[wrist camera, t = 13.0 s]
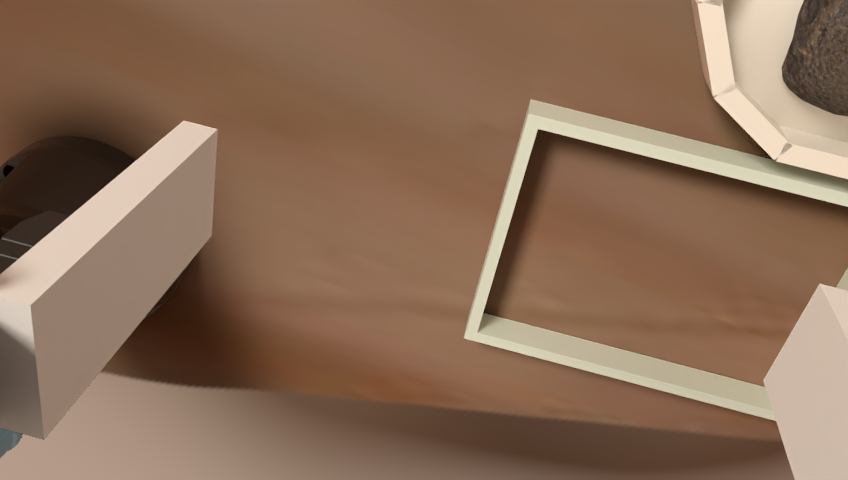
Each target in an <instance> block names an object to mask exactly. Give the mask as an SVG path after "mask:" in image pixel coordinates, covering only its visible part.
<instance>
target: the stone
mask: <svg viewBox="0 0 848 480" xmlns="http://www.w3.org/2000/svg"><path fill="white" fill-rule="evenodd" d="M782 77H783V81H784V83H785V84H786V86H787V87H788V89H789V90H790V91H792V92H793V93H794V94H795V95H796V96H798V97H799V98H800V99H801V100H803V101H805V102H807V103H809V104H811V105H813V106H816V107H818V108H820V109H822V110H825V111H827V112H830V113H832V114H835V115H841V116H848V0H804V1H803V4H802V6H801V8H800V11H799V13H798V17H797V21H796V26H795V30H794V35H793V39H792V41H791V44H790V46H789V49H788V52H787V55H786V57H785V60H784V62H783V65H782Z"/></svg>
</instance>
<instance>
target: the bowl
mask: <svg viewBox="0 0 848 480" xmlns="http://www.w3.org/2000/svg"><path fill="white" fill-rule="evenodd" d="M803 1H804V0H691V4H692V10H693V16H694V21H695V27H696V33H697V39H698V45H699V51H700V57H701V63H702V69H703V75H704V78H705V80H706V82H707V84H708V87H709V89H710V91H711V93H712V95H713V97H714V99H715V100H716V101H717V102H718V103H719V104H720V105H721V106H722V107H723V108H724V109H725V110H726V111H727V112H728V113H729V114H730V115H731V116H732V117H733V119H734V120H735V121H736V122H737V123H738V124H739V125H740V126H741V127H742V128H743V129H744V130H745V131H746V132H747V133H748V134H749V135H750V136H751V137H752V138H753V139H754V140H755V141H756V142H757V143H758V144H759V145H760V146H761V147H762V148H763V149H764V150H765V151H766V152H767V153H768V154H769V155H770V156H771V158H772V159H773V160H776V161H777V162H781V163H785V164H789V165H793V166H797V167H801V168H805V169H809V170H813V171H817V172H821V173H825V174H829V175H833V176H837V177H841V178H845V179H848V116H841V115H835V114H832V113H830V112H827V111H825V110H822V109H820V108H818V107H816V106H813V105H811V104H809V103H807V102H805V101H803V100H801V99H800V98H799V97H798V96H796V95H795V94H794V93H793V92H792V91H790V90H789V89H788V87H787V86H786V84H785V83H784V81H783V77H782V65H783V62H784V60H785V57H786V55H787V52H788V49H789V46H790V44H791V41H792V39H793V35H794V30H795V26H796V21H797V17H798V13H799V11H800V8H801V6H802V4H803Z"/></svg>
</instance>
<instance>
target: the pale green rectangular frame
mask: <svg viewBox="0 0 848 480" xmlns="http://www.w3.org/2000/svg"><path fill="white" fill-rule="evenodd" d="M538 129H540V130H544V131H548V132H552V133H556V134H560V135H564V136H568V137H572V138H576V139H580V140H584V141H588V142H592V143H596V144H600V145H604V146H608V147H612V148H616V149H620V150H624V151H628V152H632V153H636V154H640V155H644V156H648V157H651V158H655V159H659V160H663V161H667V162H671V163H675V164H679V165H683V166H687V167H691V168H695V169H699V170H703V171H707V172H711V173H715V174H719V175H723V176H727V177H731V178H735V179H739V180H743V181H747V182H751V183H755V184H759V185H763V186H767V187H771V188H775V189H779V190H783V191H787V192H791V193H795V194H799V195H803V196H807V197H811V198H814V199H818V200H822V201H826V202H830V203H834V204H838V205H842V206H846V207H848V179H845V178H841V177H837V176H833V175H829V174H825V173H821V172H817V171H813V170H809V169H805V168H801V167H797V166H793V165H789V164H785V163H781V162H777V161H776V160H772V159H768V158H764V157H760V156H756V155H752V154H748V153H744V152H740V151H736V150H732V149H728V148H724V147H720V146H716V145H712V144H708V143H704V142H700V141H696V140H692V139H688V138H684V137H680V136H676V135H672V134H668V133H664V132H660V131H656V130H652V129H648V128H644V127H640V126H636V125H632V124H628V123H624V122H620V121H616V120H612V119H608V118H604V117H600V116H596V115H592V114H588V113H584V112H580V111H576V110H572V109H568V108H564V107H560V106H556V105H552V104H548V103H544V102H540V101H536V100H532V99H531V100H530V103H529V107H528V110H527V114H526V117H525V121H524V124H523V128H522V131H521V135H520V138H519V142H518V145H517V149H516V152H515V156H514V159H513V163H512V166H511V170H510V173H509V177H508V180H507V184H506V187H505V191H504V194H503V198H502V201H501V205H500V208H499V212H498V215H497V219H496V222H495V226H494V229H493V233H492V236H491V240H490V243H489V246H488V250H487V253H486V257H485V260H484V264H483V267H482V271H481V274H480V278H479V281H478V285H477V288H476V292H475V295H474V299H473V302H472V306H471V309H470V313H469V316H468V321H467V326H466V331H465V335H464V338H465V339H469V340H472V341H476V342H480V343H484V344H487V345H491V346H495V347H499V348H502V349H506V350H510V351H514V352H518V353H521V354H525V355H529V356H533V357H536V358H540V359H544V360H548V361H551V362H555V363H559V364H563V365H567V366H570V367H574V368H578V369H582V370H585V371H589V372H593V373H597V374H600V375H604V376H608V377H612V378H616V379H619V380H623V381H627V382H631V383H634V384H638V385H642V386H646V387H649V388H653V389H657V390H661V391H665V392H668V393H672V394H676V395H680V396H683V397H687V398H691V399H695V400H698V401H702V402H706V403H710V404H714V405H717V406H721V407H725V408H729V409H732V410H736V411H740V412H744V413H747V414H751V415H755V416H759V417H762V418H766V419H770V420H774V421H776V419H775V416H774V413H773V410H772V407H771V403H770V400H769V397H768V394H767V391H766V388H765V387H763V386H759V385H755V384H752V383H748V382H744V381H740V380H736V379H733V378H729V377H725V376H721V375H717V374H714V373H710V372H706V371H702V370H698V369H695V368H691V367H687V366H683V365H679V364H676V363H672V362H668V361H664V360H660V359H657V358H653V357H649V356H645V355H641V354H638V353H634V352H630V351H626V350H622V349H619V348H615V347H611V346H607V345H604V344H600V343H596V342H592V341H588V340H585V339H581V338H577V337H573V336H569V335H566V334H562V333H558V332H554V331H550V330H547V329H543V328H539V327H535V326H531V325H528V324H524V323H520V322H516V321H512V320H509V319H505V318H501V317H497V316H493V315H490V314H486V313H483V312H484V308H485V305H486V302H487V298H488V295H489V292H490V288H491V285H492V282H493V278H494V275H495V271H496V268H497V265H498V261H499V258H500V255H501V251H502V248H503V245H504V241H505V238H506V235H507V231H508V228H509V224H510V221H511V218H512V214H513V211H514V208H515V204H516V201H517V198H518V194H519V191H520V188H521V184H522V181H523V178H524V174H525V171H526V167H527V164H528V161H529V157H530V154H531V151H532V147H533V144H534V141H535V137H536V134H537V131H538ZM836 288H838V289H842V290H846V291H848V268H847V270H846V271H845V273H844V275H843V276H842V278H841V280H840V281H839V283H838V285H837V286H836Z"/></svg>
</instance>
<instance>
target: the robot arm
mask: <svg viewBox="0 0 848 480" xmlns="http://www.w3.org/2000/svg"><path fill="white" fill-rule="evenodd" d="M217 130H218V129H215V128H211V127H207V126H203V125H199V124H195V123H191V122H187V121H183V122H181V123H180V124H179V125H178V126H177V127H176V128H174V129H173V130H172V131H171V132H170V133H168V134H167V135H166V136H165V137H164V138H162V139H161V140H160V141H159V142H158V143H156V144H155V145H154V146H153V147H152V148H150V149H149V150H148V151H147V152H146V153H144V154H143V155H142V156H141V157H140V158H139V159H137V160H136V161H135V160H134V159H132V158H131V157H129V156H128V155H126V154H124V153H123V152H121V151H119V150H117V149H115V148H113V147H110V146H108V145H105V144H103V143H100V142H97V141H93V140H89V139H85V138H78V137H55V138H49V139H45V140H41V141H39V142H36V143H34V144H32V145H30V146H28V147H27V148H25V149H24V150H22V151H21V152H19V153H18V154H16V155H15V156H13V157H11V158H10V159H9V160H7V161H6V162H5V163H4V164H3V165H2V166H1V167H0V458H1V457H2V456H3V455H4V454H5V453H6V452H7V451H9V450H11V449H12V448H14V447H15V446H16V445H17V444H18V442H19V441H20V439H21V438H22V435H23V434H25V435H29V436H33V437H36V438H40V439H43V440H44V439H45V438H46V437H47V436H48V434H49V433H50V432H51V431H52V430H53V428H54V427H55V426H56V425H57V424H58V422H59V421H60V420H61V419H62V417H63V416H64V415H65V414H66V413H67V411H68V410H69V409H70V408H71V406H72V405H73V404H74V403H75V402H76V400H77V399H78V398H79V397H80V395H81V394H82V393H83V392H84V391H85V389H86V388H87V387H88V386H89V384H90V383H91V382H92V381H93V380H94V379H95V377H96V376H97V375H98V374H99V372H100V371H101V370H102V369H103V368H104V366H105V365H106V364H107V363H108V361H109V360H110V359H111V358H112V357H113V355H114V354H115V353H116V352H117V351H118V349H119V348H120V347H121V346H122V344H123V343H124V342H125V341H126V340H127V338H128V337H129V336H130V335H131V333H132V332H133V331H134V330H135V329H136V327H137V326H138V325H139V324H140V322H141V321H142V320H143V319H144V318H146V317H148V316H150V315H152V314H153V313H155V312H156V311H157V310H158V309H160V308H161V307H162V306H163V305H164V304H165V303H166V302H167V300H168V299H169V298H170V297H171V296H172V294H173V293H174V292H175V291H176V289H177V288H178V287H179V286H180V284H181V282H182V281H183V279H184V277H185V274H186V272H187V269H188V265H189V263H190V262H191V260H192V259H193V258H194V257H195V255H196V254H197V253H198V252H199V251H200V249H201V248H202V247H203V246H204V244H205V243H206V242H207V241H208V240H209V238H210V237H211V236H212V223H213V205H214V186H215V168H216V149H217ZM763 381H764V385H765V388H766V391H767V394H768V397H769V400H770V403H771V407H772V410H773V413H774V416H775V419H776V422H777V425H778V428H779V432H780V435H781V438H782V441H783V444H784V447H785V450H786V453H787V457H788V460H789V462H790V466H791V469H792V472H793V475H794V479H795V480H848V291H846V290H842V289H838V288H834V287H831V286H827V285H823V284H819V286H818V287H817V289H816V291H815V292H814V294H813V296H812V298H811V299H810V301H809V303H808V305H807V306H806V308H805V310H804V311H803V313H802V315H801V317H800V318H799V320H798V322H797V323H796V325H795V327H794V329H793V330H792V332H791V334H790V335H789V337H788V339H787V341H786V342H785V344H784V346H783V348H782V349H781V351H780V353H779V354H778V356H777V358H776V360H775V361H774V363H773V365H772V366H771V368H770V370H769V372H768V373H767V375H766V377H765V378H764V380H763Z"/></svg>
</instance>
